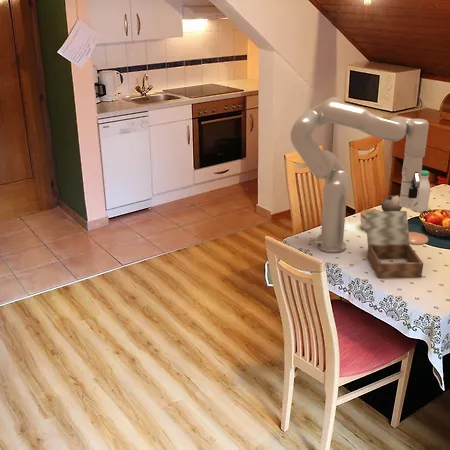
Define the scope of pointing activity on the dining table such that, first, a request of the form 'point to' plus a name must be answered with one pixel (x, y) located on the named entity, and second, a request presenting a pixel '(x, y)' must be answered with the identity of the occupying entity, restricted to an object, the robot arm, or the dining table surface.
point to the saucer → (417, 238)
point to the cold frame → (391, 245)
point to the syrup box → (404, 194)
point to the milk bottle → (423, 193)
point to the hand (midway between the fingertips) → (409, 193)
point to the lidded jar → (363, 216)
